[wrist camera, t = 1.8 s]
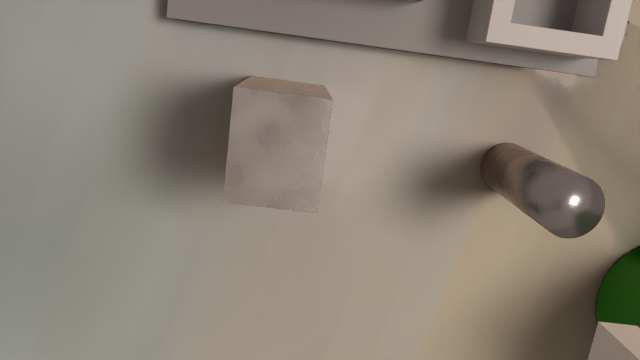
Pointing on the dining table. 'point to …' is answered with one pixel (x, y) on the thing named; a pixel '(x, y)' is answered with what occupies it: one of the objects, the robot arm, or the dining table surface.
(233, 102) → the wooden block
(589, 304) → the dining table surface
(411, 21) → the stand
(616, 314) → the motor
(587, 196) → the rounded metal cylinder
